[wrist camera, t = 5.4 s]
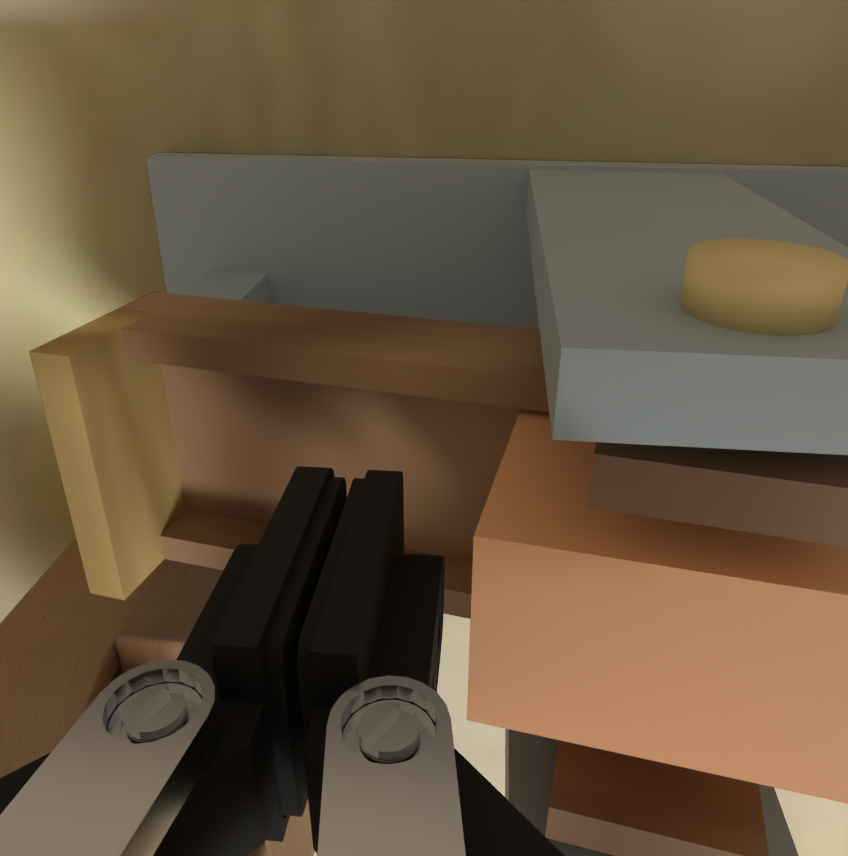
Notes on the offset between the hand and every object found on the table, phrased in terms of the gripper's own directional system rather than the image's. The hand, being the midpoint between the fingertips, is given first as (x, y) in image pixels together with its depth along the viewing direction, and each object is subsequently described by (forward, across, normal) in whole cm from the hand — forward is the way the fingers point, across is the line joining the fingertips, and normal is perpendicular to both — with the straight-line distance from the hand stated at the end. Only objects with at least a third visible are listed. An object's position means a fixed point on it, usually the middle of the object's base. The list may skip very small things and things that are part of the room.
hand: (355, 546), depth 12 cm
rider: (+2, -5, 0) cm, 6 cm away
